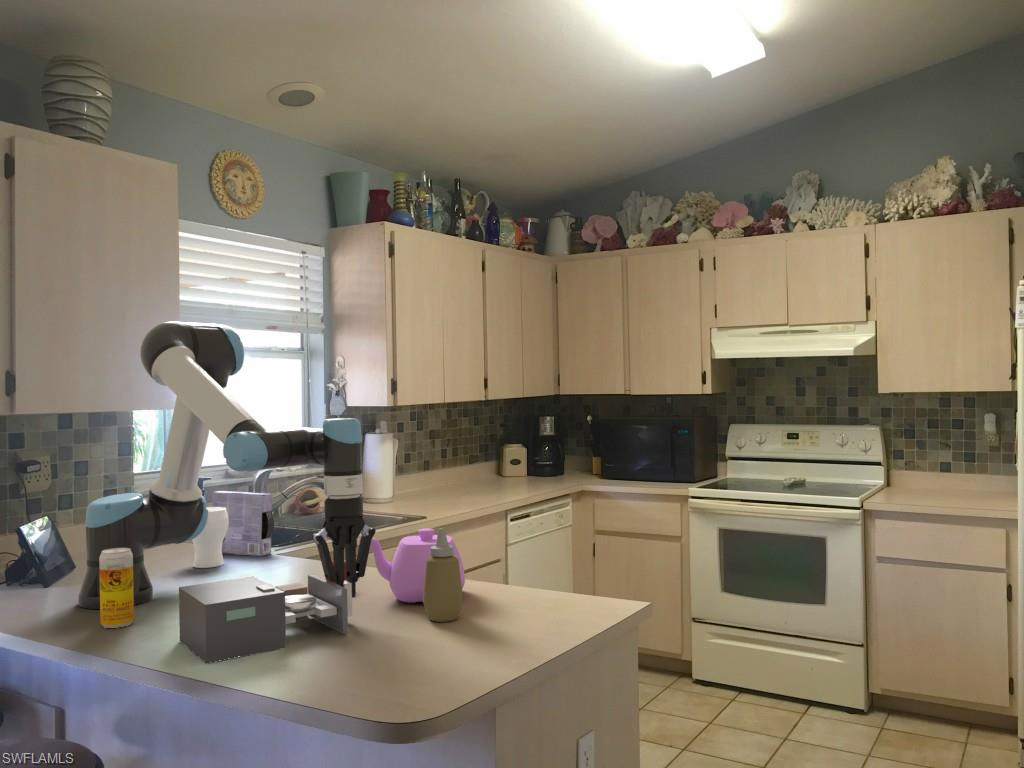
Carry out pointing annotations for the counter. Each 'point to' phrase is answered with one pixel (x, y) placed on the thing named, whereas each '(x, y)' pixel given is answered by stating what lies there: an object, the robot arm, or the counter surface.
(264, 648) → the box
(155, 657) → the counter surface
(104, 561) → the beer can
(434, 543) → the teapot
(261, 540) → the cake pan box
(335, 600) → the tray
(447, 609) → the squeeze bottle
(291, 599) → the disc
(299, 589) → the brown wooden block
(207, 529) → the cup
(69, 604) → the counter surface
